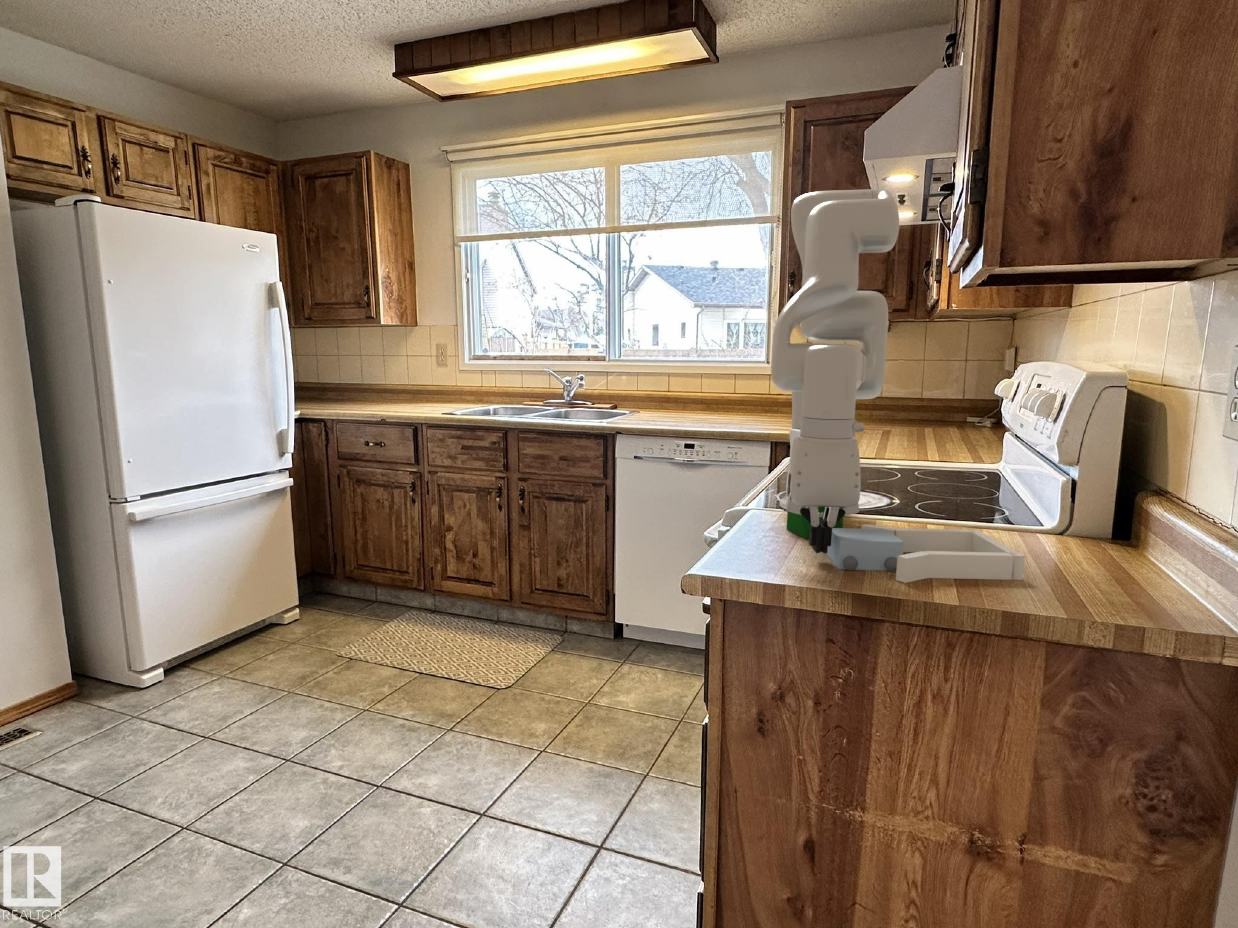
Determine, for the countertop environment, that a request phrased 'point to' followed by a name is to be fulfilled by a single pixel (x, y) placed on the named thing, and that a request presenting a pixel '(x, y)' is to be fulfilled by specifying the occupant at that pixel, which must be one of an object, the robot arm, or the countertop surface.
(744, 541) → the countertop surface
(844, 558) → the grey boxy piece
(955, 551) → the bay
